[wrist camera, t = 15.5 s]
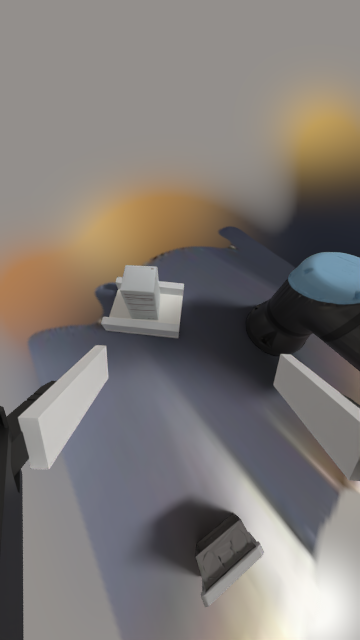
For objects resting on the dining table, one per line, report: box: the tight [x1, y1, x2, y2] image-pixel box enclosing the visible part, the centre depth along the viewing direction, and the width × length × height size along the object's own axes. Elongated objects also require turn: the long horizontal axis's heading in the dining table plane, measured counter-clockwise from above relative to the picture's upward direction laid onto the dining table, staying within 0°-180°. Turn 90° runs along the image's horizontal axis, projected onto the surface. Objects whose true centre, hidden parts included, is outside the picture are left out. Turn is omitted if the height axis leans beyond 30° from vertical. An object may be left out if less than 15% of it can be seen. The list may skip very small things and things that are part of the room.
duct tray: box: [101, 277, 184, 338], centre depth 48 cm, size 19×15×4 cm
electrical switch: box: [195, 513, 264, 607], centre depth 26 cm, size 9×5×9 cm, turn 117°
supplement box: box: [120, 265, 160, 320], centre depth 44 cm, size 7×7×13 cm
